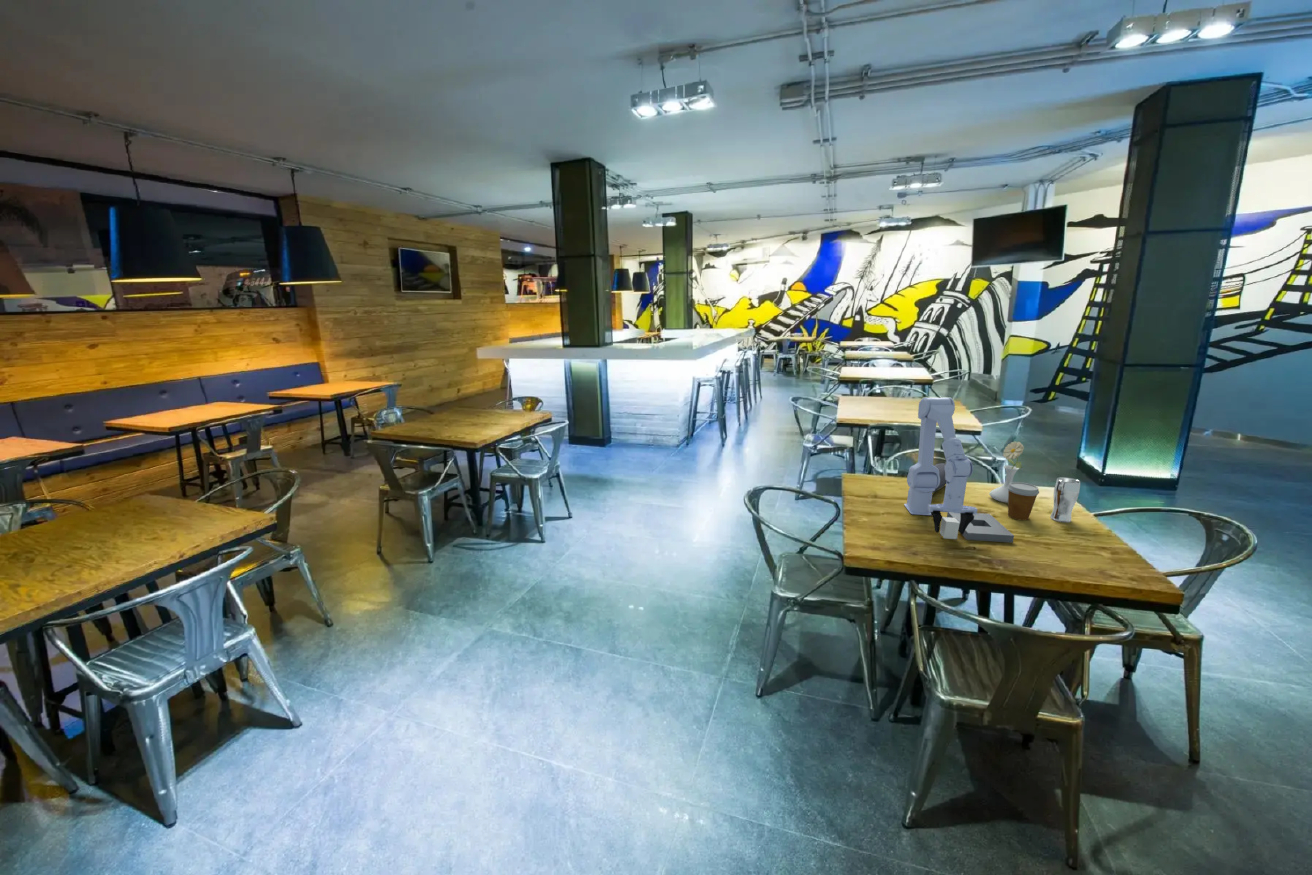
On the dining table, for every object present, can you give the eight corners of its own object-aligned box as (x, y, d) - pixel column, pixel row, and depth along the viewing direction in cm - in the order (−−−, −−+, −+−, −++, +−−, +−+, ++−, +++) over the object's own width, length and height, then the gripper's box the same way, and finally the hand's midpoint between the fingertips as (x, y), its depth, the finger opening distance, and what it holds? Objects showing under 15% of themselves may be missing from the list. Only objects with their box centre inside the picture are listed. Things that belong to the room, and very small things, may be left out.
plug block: (939, 533, 177) (942, 516, 175) (952, 533, 176) (954, 517, 175) (943, 538, 173) (946, 521, 172) (956, 539, 172) (959, 522, 171)
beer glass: (1069, 517, 189) (1078, 478, 185) (1075, 524, 183) (1084, 484, 179) (1046, 514, 192) (1054, 475, 188) (1051, 521, 186) (1059, 481, 182)
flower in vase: (985, 493, 212) (995, 434, 206) (1017, 496, 209) (1028, 437, 202) (994, 505, 200) (1005, 443, 194) (1028, 508, 197) (1041, 445, 190)
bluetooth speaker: (929, 481, 227) (932, 459, 224) (953, 486, 220) (956, 464, 218) (909, 494, 212) (912, 471, 209) (933, 500, 205) (936, 476, 203)
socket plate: (946, 517, 189) (947, 511, 188) (988, 520, 187) (989, 513, 186) (966, 539, 172) (967, 532, 171) (1012, 542, 170) (1014, 535, 169)
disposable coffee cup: (1040, 522, 185) (1046, 490, 182) (1013, 522, 185) (1019, 490, 182) (1022, 511, 194) (1027, 481, 191) (996, 511, 194) (1002, 481, 191)
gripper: (935, 497, 168) (929, 535, 172) (983, 500, 166) (977, 538, 169) (927, 489, 175) (922, 526, 178) (974, 492, 172) (968, 529, 176)
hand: (948, 532), depth 174 cm, fingers open, 7 cm apart
